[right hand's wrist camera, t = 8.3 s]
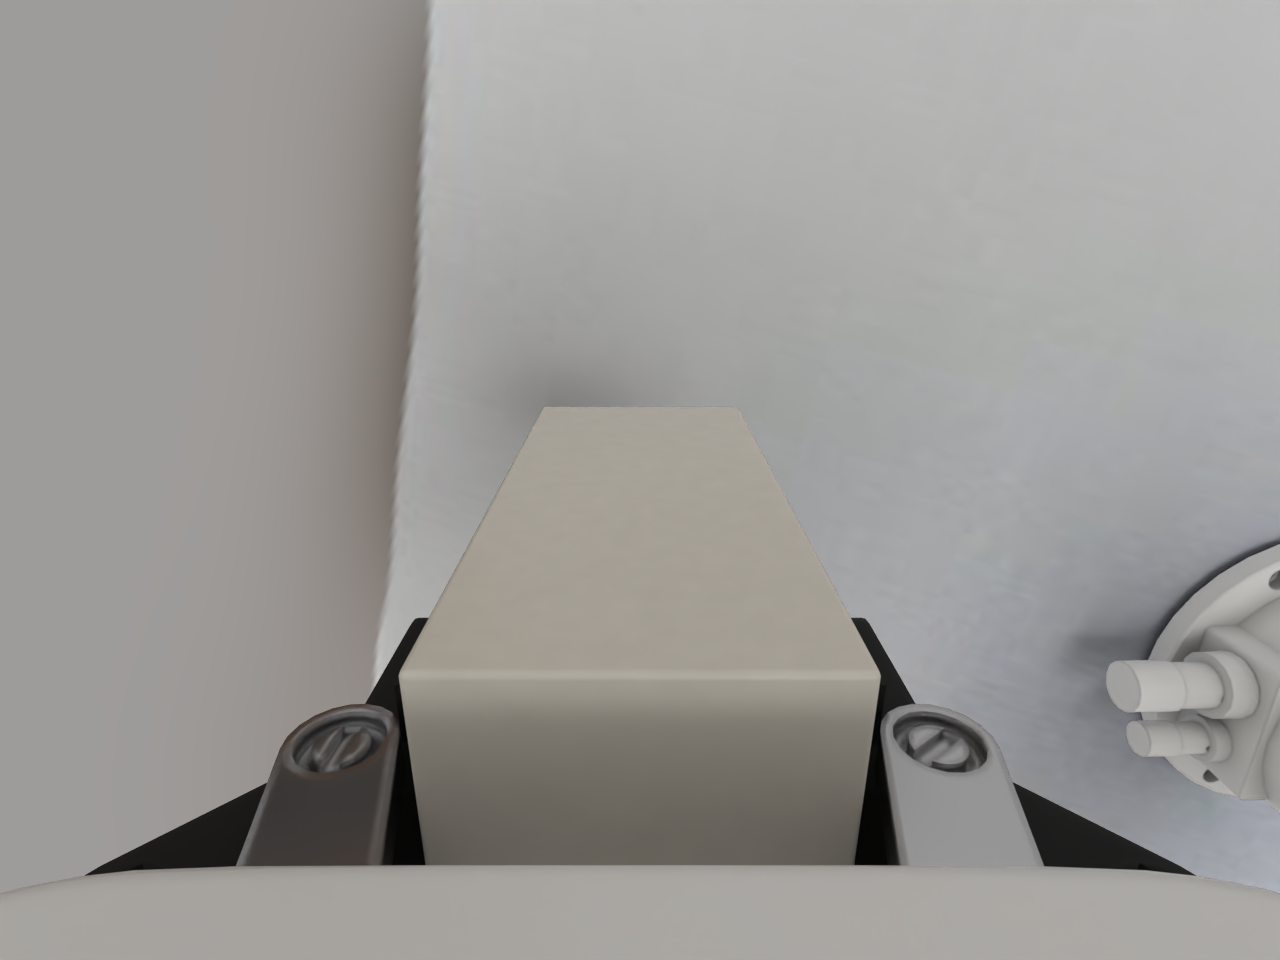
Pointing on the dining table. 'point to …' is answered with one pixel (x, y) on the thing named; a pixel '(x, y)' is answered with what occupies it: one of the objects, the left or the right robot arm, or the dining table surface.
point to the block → (639, 661)
